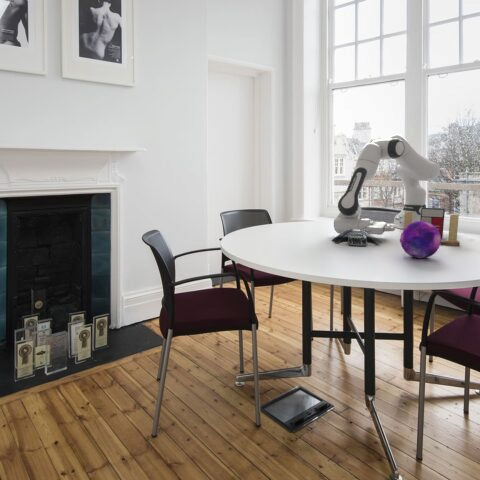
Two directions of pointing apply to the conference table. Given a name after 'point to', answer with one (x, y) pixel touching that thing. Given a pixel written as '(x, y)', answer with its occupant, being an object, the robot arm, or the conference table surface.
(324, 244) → the conference table surface
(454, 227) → the fixed leg
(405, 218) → the sliding leg
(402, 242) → the decorative orb
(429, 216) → the red and grey box
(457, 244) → the rail
